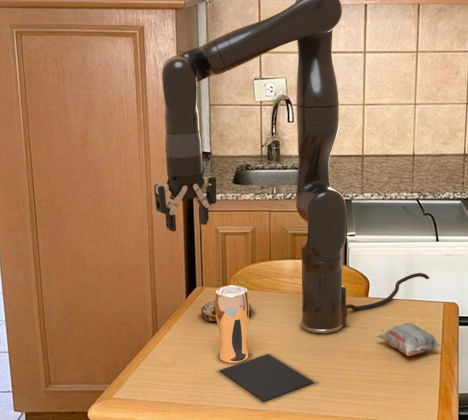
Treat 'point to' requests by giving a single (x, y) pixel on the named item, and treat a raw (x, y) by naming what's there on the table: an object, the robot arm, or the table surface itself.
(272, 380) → the mat
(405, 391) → the table surface
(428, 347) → the packaged food
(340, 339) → the table surface
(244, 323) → the copper cup
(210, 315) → the floral plate with food
